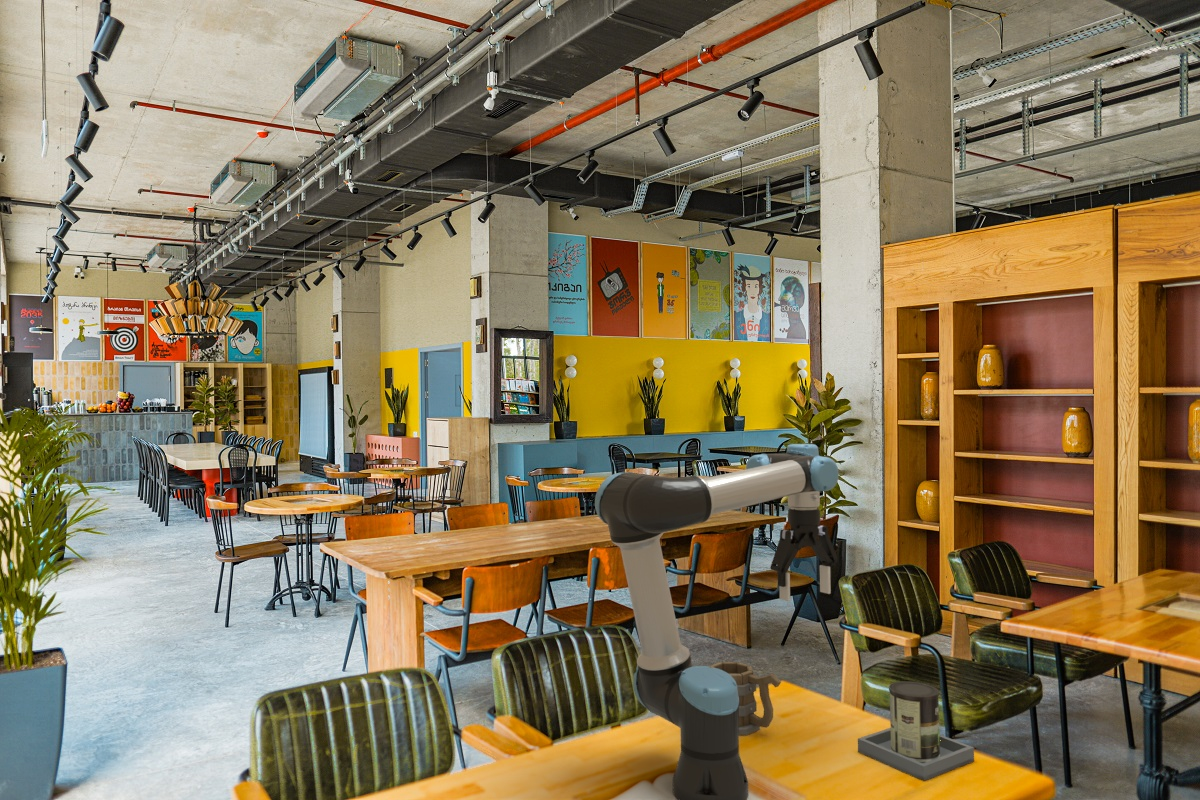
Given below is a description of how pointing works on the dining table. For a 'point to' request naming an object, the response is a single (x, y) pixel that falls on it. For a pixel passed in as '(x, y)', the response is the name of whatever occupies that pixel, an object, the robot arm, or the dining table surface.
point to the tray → (880, 749)
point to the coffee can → (914, 720)
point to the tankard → (750, 695)
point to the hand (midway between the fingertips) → (805, 596)
